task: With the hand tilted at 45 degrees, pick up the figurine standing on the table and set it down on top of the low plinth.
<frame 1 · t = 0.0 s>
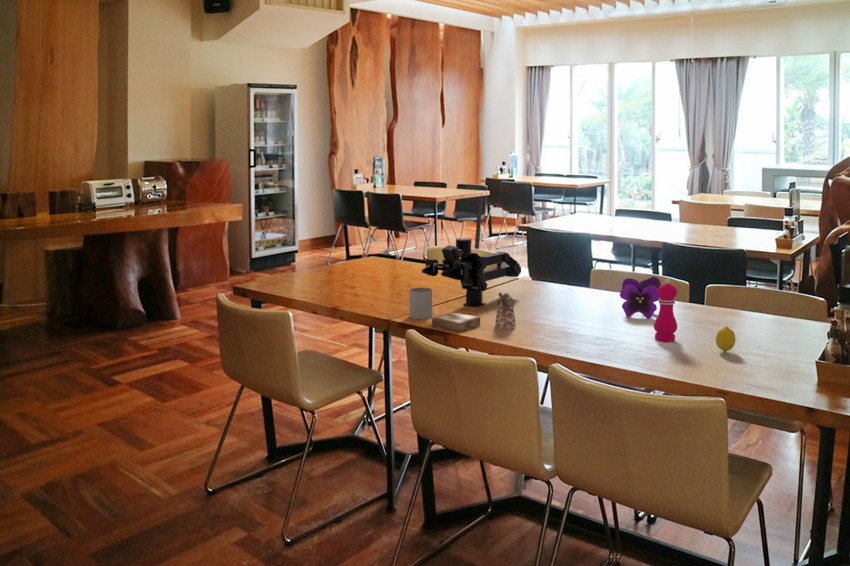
hand: (431, 272, 279), 17 cm above the table, tool horizontal, fingers open, 9 cm apart
figurine: (505, 327, 267), on the table
plinth: (456, 325, 269), on the table
cup: (421, 316, 284), on the table
pepper mill: (664, 340, 248), on the table
flower: (640, 314, 283), on the table
lemon: (724, 352, 234), on the table
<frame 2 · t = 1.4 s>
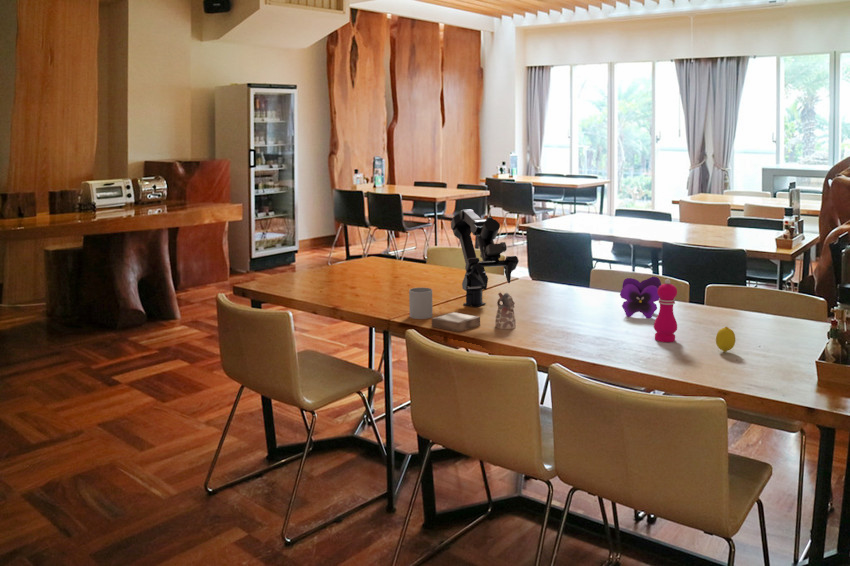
hand: (497, 283, 273), 14 cm above the table, tool tilted 45°, fingers open, 9 cm apart
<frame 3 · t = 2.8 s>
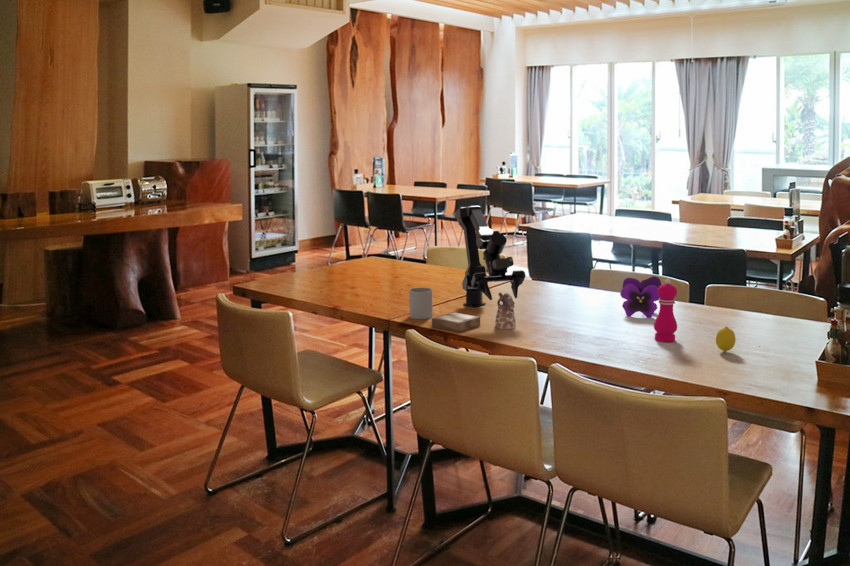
hand: (503, 298, 267), 9 cm above the table, tool tilted 45°, fingers open, 9 cm apart
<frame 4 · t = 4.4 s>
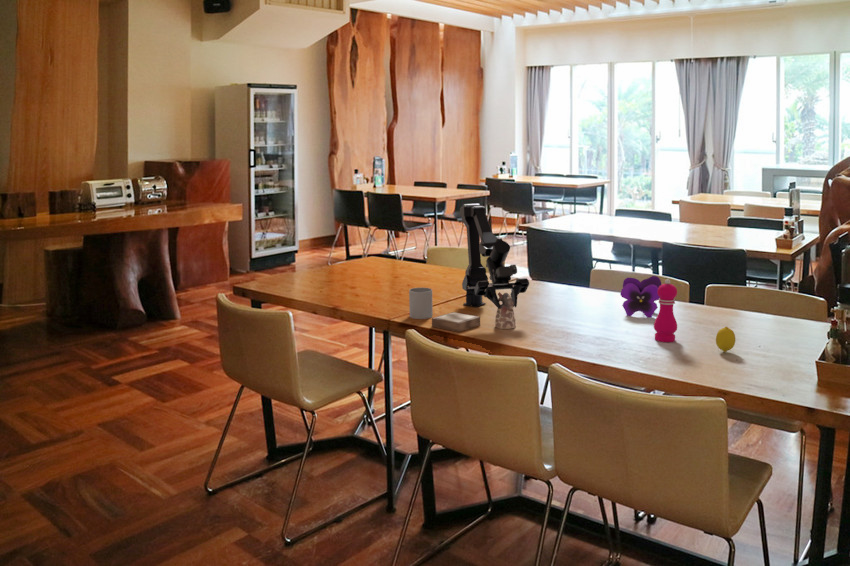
hand: (507, 307, 264), 7 cm above the table, tool tilted 45°, fingers closed on figurine, 6 cm apart
figurine: (505, 326, 267), on the table, touching gripper
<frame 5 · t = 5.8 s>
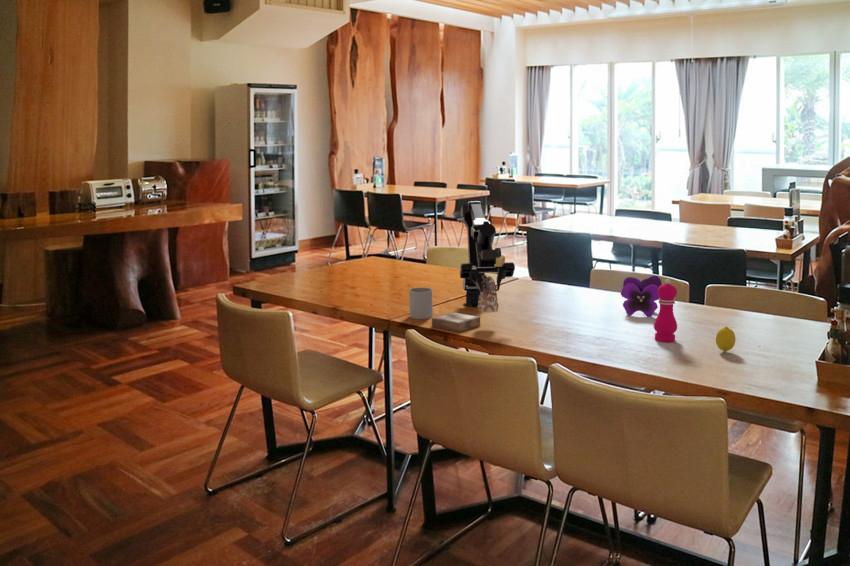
hand: (489, 290, 263), 13 cm above the table, tool tilted 45°, fingers closed on figurine, 6 cm apart
figurine: (488, 310, 266), point 6 cm above the table, touching gripper
when the fingers open (11 cm above the table, at t = 7.2 s): figurine stays where it is, resting on plinth.
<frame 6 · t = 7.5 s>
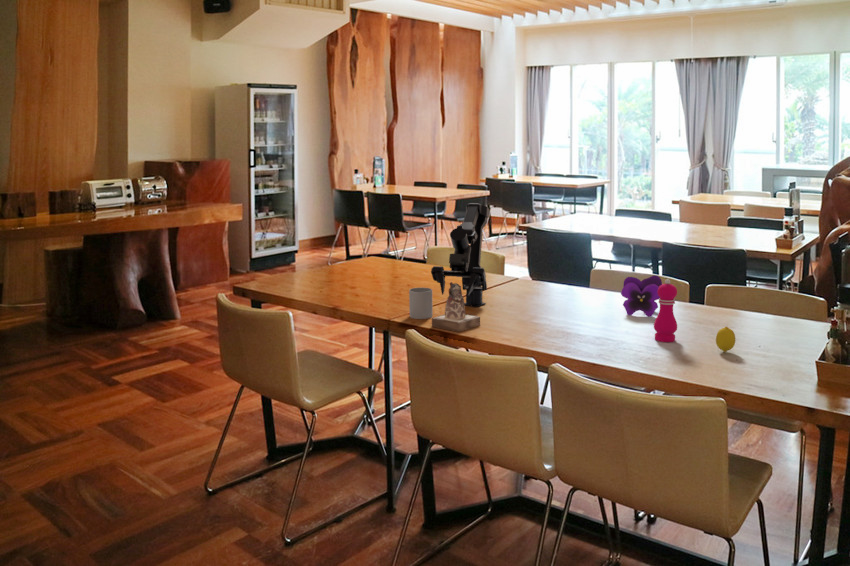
hand: (455, 294, 265), 12 cm above the table, tool tilted 45°, fingers open, 9 cm apart
figurine: (455, 317, 269), point 3 cm above the table, touching plinth
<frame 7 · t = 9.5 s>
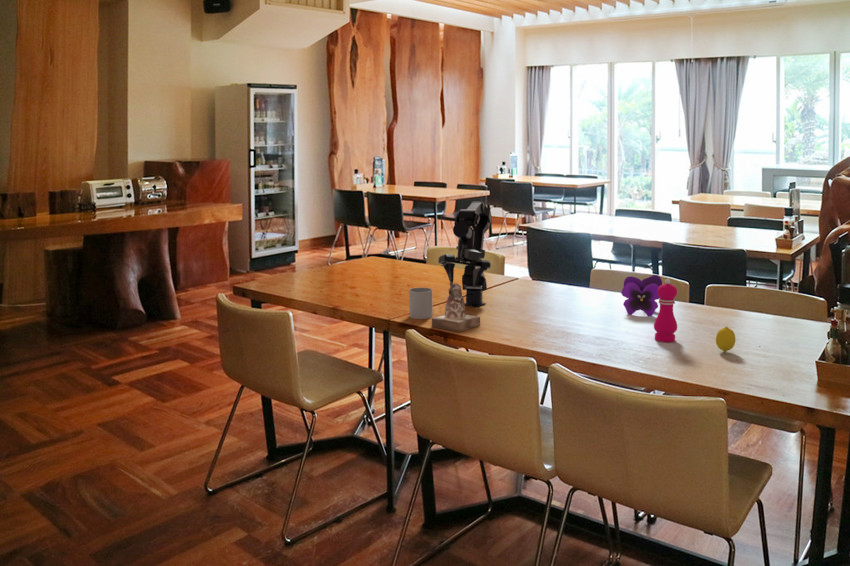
hand: (463, 285, 278), 12 cm above the table, tool tilted 20°, fingers open, 9 cm apart
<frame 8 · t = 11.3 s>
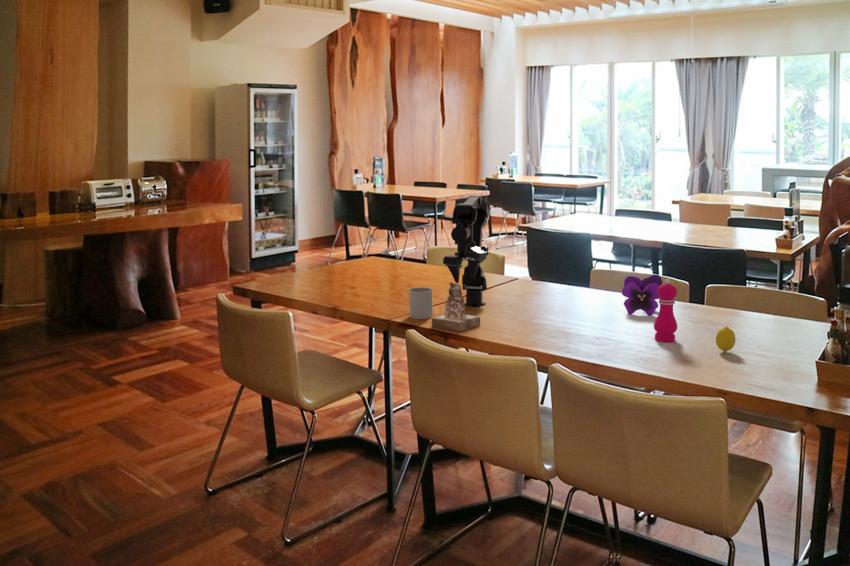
hand: (465, 280, 281), 13 cm above the table, tool pointing down, fingers open, 9 cm apart
at the end: figurine inside the target area on the plinth (0.6 cm from its centre), point 3.0 cm above the plinth's base; figurine touching plinth; the gripper is holding nothing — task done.
